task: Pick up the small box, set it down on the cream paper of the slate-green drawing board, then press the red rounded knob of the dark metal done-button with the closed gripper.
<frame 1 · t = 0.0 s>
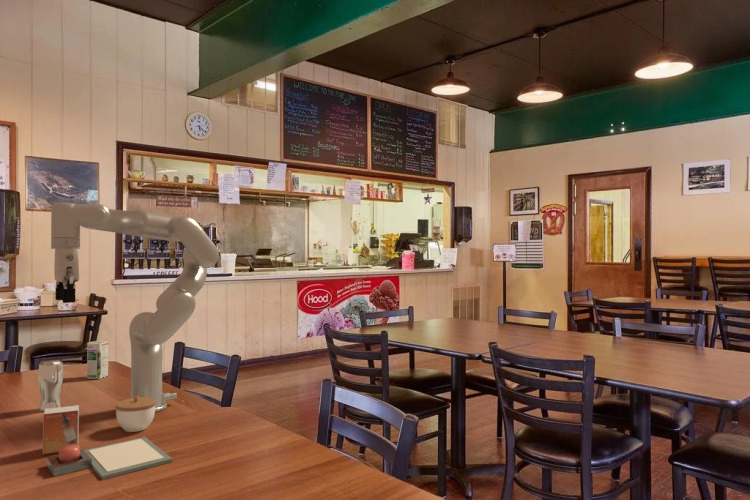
hand: (65, 301, 160), 37 cm above the table, tool pointing down, fingers open, 9 cm apart
beer glass: (50, 409, 174), on the table
small box: (61, 449, 140), on the table
button housing: (69, 466, 129), on the table
red rounded knob: (69, 453, 129), point 3 cm above the table, slide at 0.0 cm
board: (125, 457, 135), on the table
lidded jar: (135, 429, 157), on the table
syrup box: (97, 378, 217), on the table
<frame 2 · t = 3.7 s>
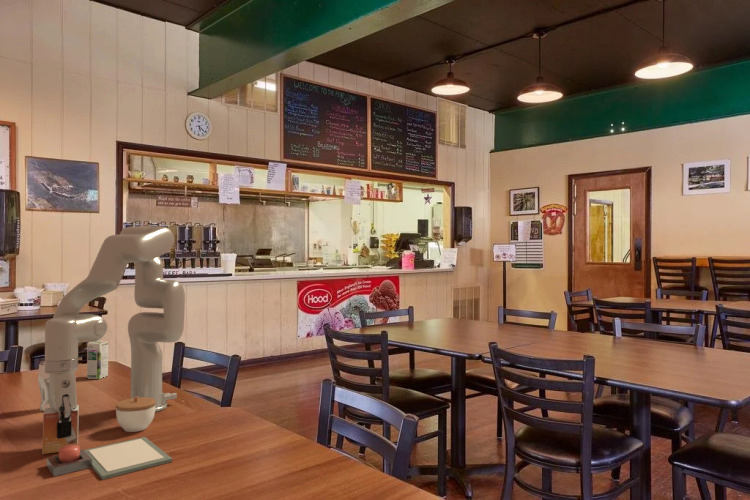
hand: (60, 432, 140), 4 cm above the table, tool pointing down, fingers closed on small box, 6 cm apart
small box: (60, 449, 140), on the table, touching gripper
everything else where it was.
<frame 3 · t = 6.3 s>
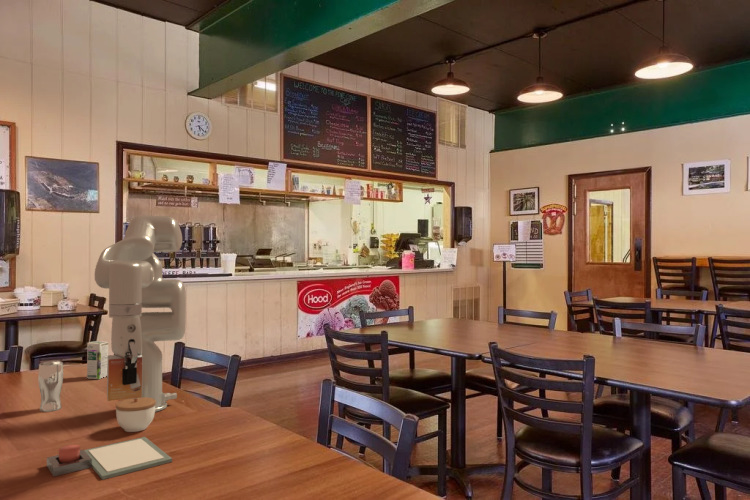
hand: (124, 380, 136), 19 cm above the table, tool pointing down, fingers closed on small box, 6 cm apart
small box: (124, 397, 136), point 15 cm above the table, touching gripper
everything else where it was.
when the fingers open (6 cm above the table, at t = 9.2 s): small box stays where it is, resting on board.
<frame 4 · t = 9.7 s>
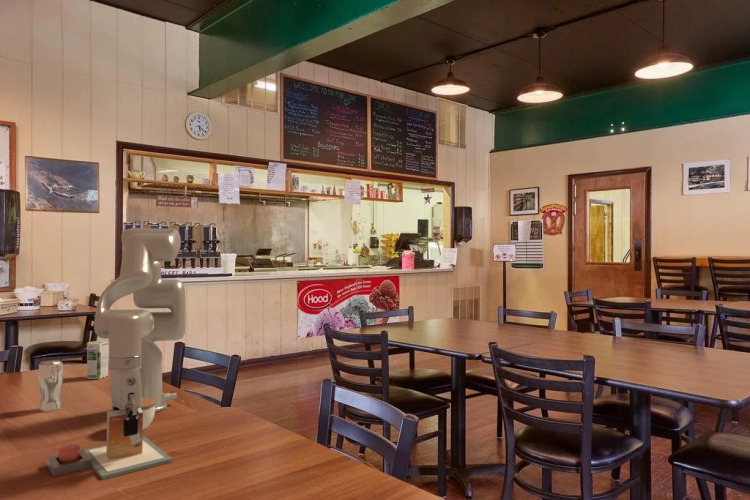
hand: (124, 429, 136), 7 cm above the table, tool pointing down, fingers open, 9 cm apart
small box: (124, 453, 136), point 1 cm above the table, touching board
everything else where it was.
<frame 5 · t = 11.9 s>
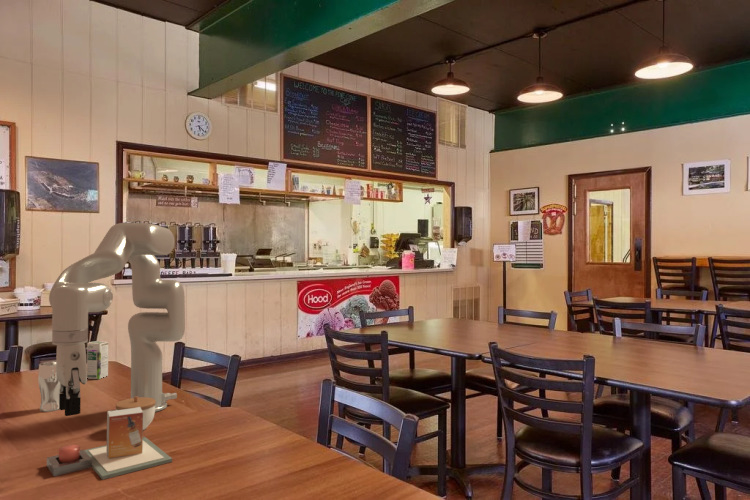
hand: (69, 411, 129), 13 cm above the table, tool pointing down, fingers open, 5 cm apart
nothing on the table moved.
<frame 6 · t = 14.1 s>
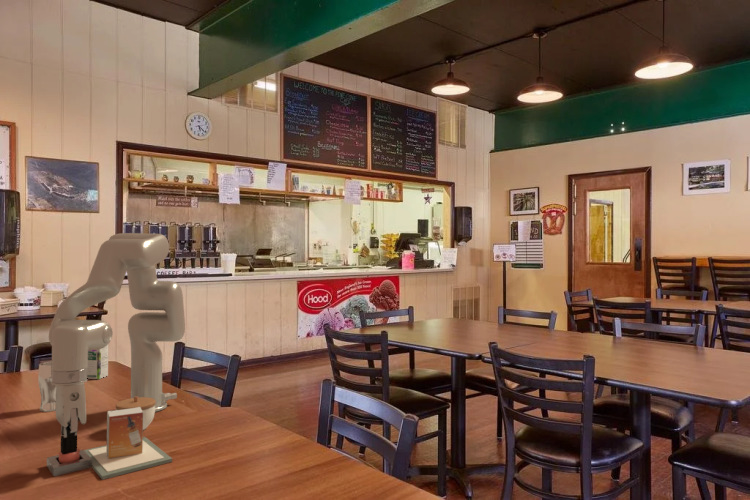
hand: (68, 452, 129), 4 cm above the table, tool pointing down, fingers closed
red rounded knob: (69, 457, 129), point 2 cm above the table, slide at 0.9 cm, touching gripper
everything else where it was.
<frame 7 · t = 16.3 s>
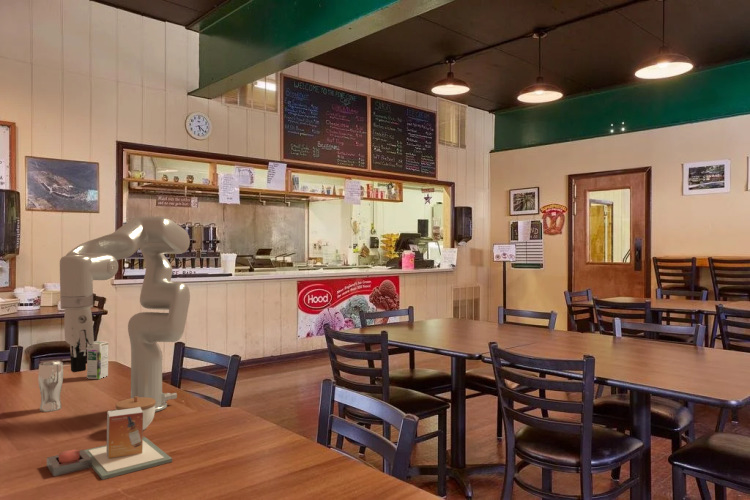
hand: (78, 370, 142), 20 cm above the table, tool pointing down, fingers closed
red rounded knob: (69, 458, 129), point 2 cm above the table, slide at 1.2 cm
everything else where it was.
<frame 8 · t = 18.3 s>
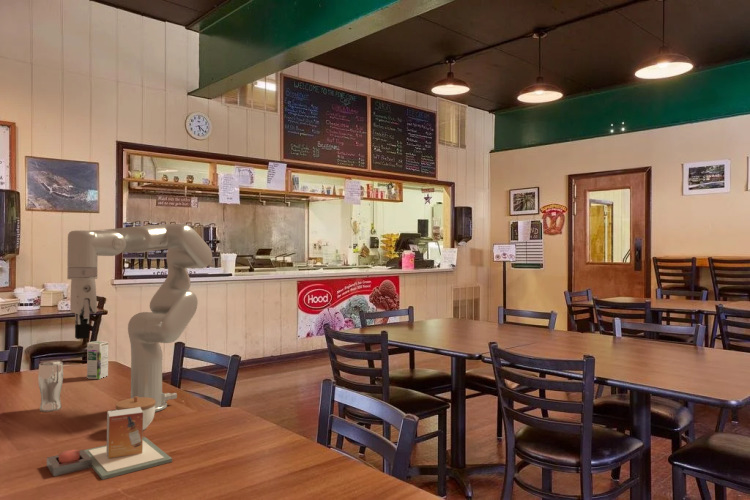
hand: (82, 338, 152), 27 cm above the table, tool pointing down, fingers closed
nothing on the table moved.
at the end: small box inside the target area on the board (0.9 cm from its centre), point 0.8 cm above the board's base; small box tilted 0°; red rounded knob slide at 1.2 cm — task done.
